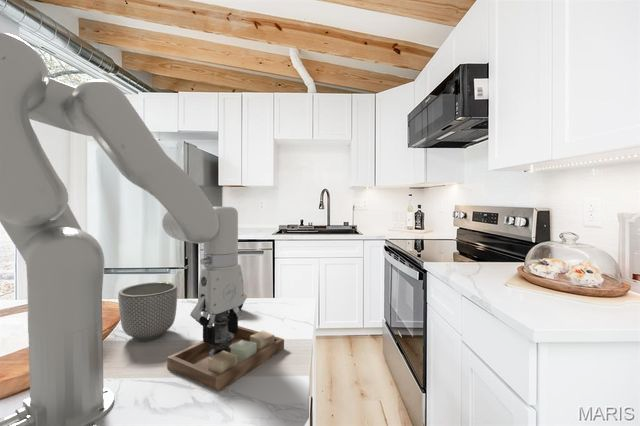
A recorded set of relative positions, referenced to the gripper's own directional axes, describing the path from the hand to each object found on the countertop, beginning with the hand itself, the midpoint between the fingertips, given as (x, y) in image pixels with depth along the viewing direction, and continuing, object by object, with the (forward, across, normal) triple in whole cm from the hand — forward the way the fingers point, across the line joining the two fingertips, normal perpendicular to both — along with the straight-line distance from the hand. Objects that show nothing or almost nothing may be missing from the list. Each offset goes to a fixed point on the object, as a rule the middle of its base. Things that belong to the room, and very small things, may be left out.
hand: (221, 336), depth 72 cm
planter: (+5, -2, +26) cm, 26 cm away
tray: (+5, 0, -2) cm, 6 cm away
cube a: (+4, -6, -7) cm, 10 cm away
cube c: (+4, +6, -7) cm, 10 cm away
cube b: (+4, 0, -7) cm, 8 cm away
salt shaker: (+4, 0, 0) cm, 4 cm away
